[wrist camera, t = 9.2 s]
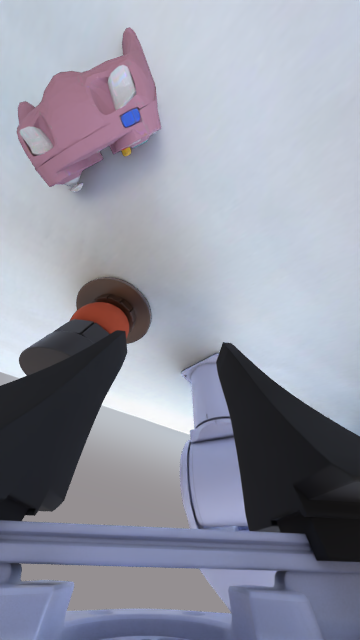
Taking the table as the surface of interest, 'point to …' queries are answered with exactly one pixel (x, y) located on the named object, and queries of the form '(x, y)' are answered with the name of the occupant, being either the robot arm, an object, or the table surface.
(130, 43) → the pink toy car
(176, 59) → the table surface
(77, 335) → the cap
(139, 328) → the ball stand
